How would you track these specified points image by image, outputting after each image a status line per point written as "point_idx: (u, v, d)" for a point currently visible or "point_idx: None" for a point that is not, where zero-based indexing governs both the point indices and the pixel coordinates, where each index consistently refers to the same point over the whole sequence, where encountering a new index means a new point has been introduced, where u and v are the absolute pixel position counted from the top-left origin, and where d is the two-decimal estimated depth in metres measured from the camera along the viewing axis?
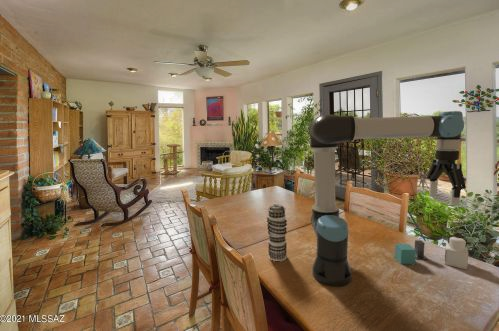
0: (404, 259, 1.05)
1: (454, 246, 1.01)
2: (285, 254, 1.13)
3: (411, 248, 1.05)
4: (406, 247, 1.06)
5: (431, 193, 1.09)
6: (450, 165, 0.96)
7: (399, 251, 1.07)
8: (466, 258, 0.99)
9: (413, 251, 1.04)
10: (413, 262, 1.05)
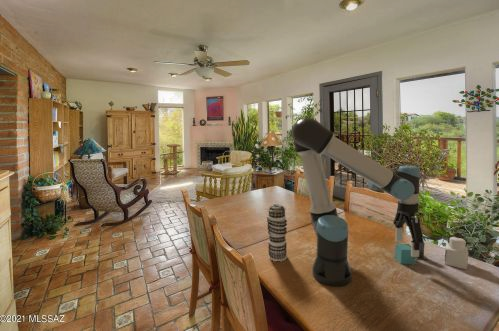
0: (404, 259, 1.05)
1: (454, 246, 1.01)
2: (285, 254, 1.13)
3: None
4: (406, 247, 1.06)
5: (397, 239, 1.13)
6: (410, 218, 1.01)
7: (399, 251, 1.07)
8: (466, 258, 0.99)
9: None
10: (413, 262, 1.05)
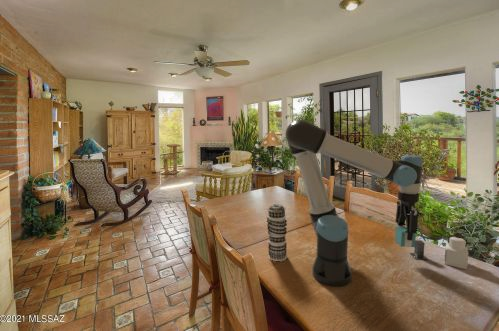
0: None
1: (454, 246, 1.01)
2: (285, 254, 1.13)
3: None
4: None
5: None
6: (409, 208, 1.00)
7: (399, 234, 1.05)
8: (466, 258, 0.99)
9: (413, 234, 1.03)
10: (413, 245, 1.04)
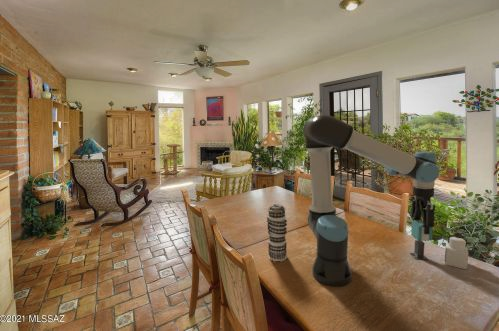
0: None
1: (454, 246, 1.01)
2: (285, 254, 1.13)
3: None
4: None
5: None
6: (425, 203, 1.03)
7: (416, 228, 1.08)
8: (466, 258, 0.99)
9: (430, 227, 1.06)
10: (430, 238, 1.06)
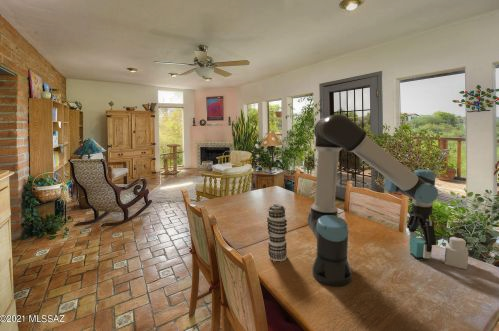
0: (419, 252, 1.08)
1: (454, 246, 1.01)
2: (285, 254, 1.13)
3: None
4: (422, 240, 1.09)
5: None
6: (424, 220, 1.04)
7: (414, 245, 1.09)
8: (466, 258, 0.99)
9: None
10: None
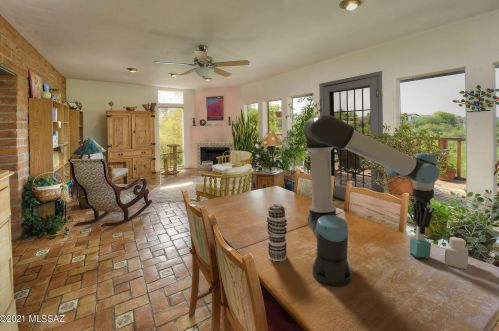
0: (419, 252, 1.08)
1: (454, 246, 1.01)
2: (285, 254, 1.13)
3: (426, 242, 1.08)
4: (422, 240, 1.09)
5: None
6: (425, 205, 1.04)
7: (414, 245, 1.09)
8: (466, 258, 0.99)
9: (428, 244, 1.07)
10: (428, 255, 1.07)
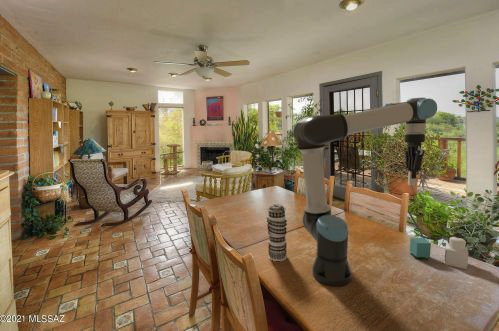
0: (419, 252, 1.08)
1: (454, 246, 1.01)
2: (285, 254, 1.13)
3: (426, 242, 1.08)
4: (422, 240, 1.09)
5: None
6: (416, 148, 1.06)
7: (414, 245, 1.09)
8: (466, 258, 0.99)
9: (428, 244, 1.07)
10: (428, 255, 1.07)
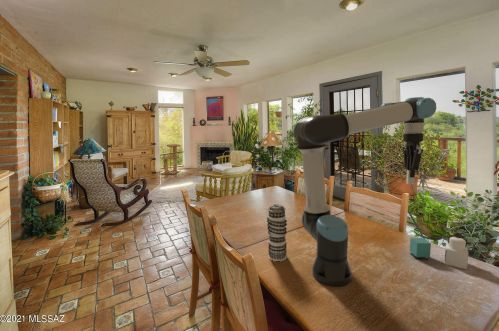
0: (419, 252, 1.08)
1: (454, 246, 1.01)
2: (285, 254, 1.13)
3: (426, 242, 1.08)
4: (422, 240, 1.09)
5: None
6: (414, 147, 1.07)
7: (414, 245, 1.09)
8: (466, 258, 0.99)
9: (428, 244, 1.07)
10: (428, 255, 1.07)
